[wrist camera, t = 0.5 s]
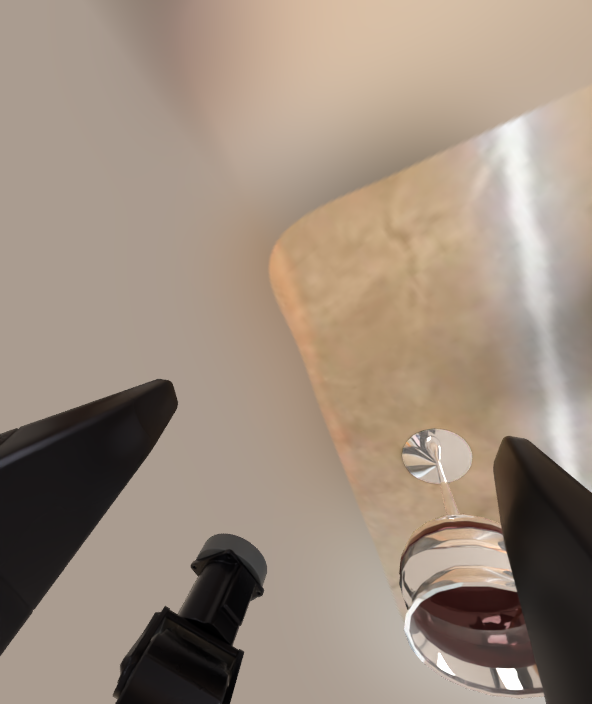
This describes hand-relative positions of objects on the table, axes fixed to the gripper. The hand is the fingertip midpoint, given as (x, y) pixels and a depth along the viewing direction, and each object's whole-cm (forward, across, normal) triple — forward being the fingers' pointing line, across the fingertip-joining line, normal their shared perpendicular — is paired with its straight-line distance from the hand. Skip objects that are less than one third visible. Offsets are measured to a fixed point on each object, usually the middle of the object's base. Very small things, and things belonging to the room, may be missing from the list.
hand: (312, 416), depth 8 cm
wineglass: (+13, -6, +13) cm, 20 cm away
